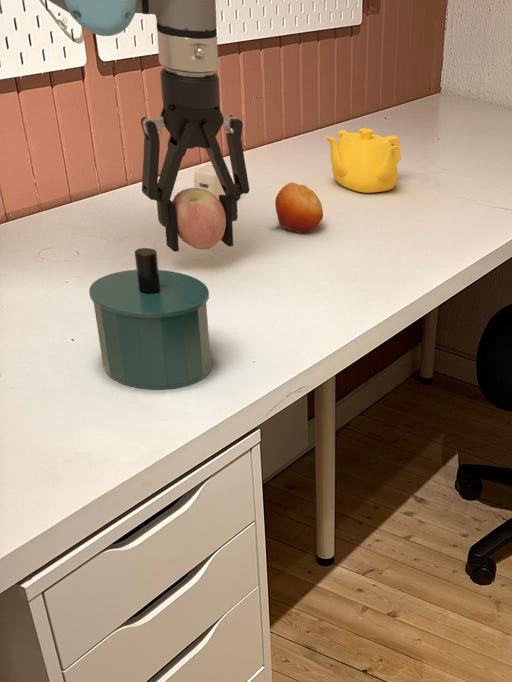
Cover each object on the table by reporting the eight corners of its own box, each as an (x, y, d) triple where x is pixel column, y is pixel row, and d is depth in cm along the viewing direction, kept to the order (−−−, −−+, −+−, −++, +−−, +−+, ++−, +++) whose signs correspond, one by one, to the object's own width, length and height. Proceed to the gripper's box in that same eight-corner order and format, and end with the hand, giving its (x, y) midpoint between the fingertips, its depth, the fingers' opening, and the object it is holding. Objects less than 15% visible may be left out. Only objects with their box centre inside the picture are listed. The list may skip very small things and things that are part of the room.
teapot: (323, 191, 179) (323, 133, 172) (335, 171, 189) (336, 116, 182) (395, 201, 179) (398, 143, 172) (404, 181, 189) (407, 126, 183)
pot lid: (74, 285, 114) (66, 237, 110) (183, 272, 120) (178, 226, 117) (114, 329, 106) (107, 279, 102) (228, 313, 112) (225, 265, 109)
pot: (89, 353, 119) (78, 281, 113) (187, 338, 125) (180, 269, 119) (126, 397, 112) (115, 322, 106) (227, 378, 118) (223, 307, 112)
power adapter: (218, 190, 172) (216, 155, 168) (244, 194, 172) (242, 159, 168) (192, 207, 164) (189, 170, 160) (218, 212, 163) (216, 175, 160)
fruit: (274, 207, 164) (297, 168, 159) (312, 238, 166) (335, 201, 161) (257, 220, 158) (280, 181, 153) (296, 253, 160) (320, 215, 155)
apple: (161, 243, 141) (156, 186, 136) (204, 234, 146) (201, 179, 140) (195, 260, 137) (192, 202, 132) (238, 251, 142) (236, 194, 137)
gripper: (122, 76, 119) (141, 261, 134) (273, 77, 130) (275, 248, 144) (101, 62, 123) (122, 242, 138) (249, 64, 134) (253, 231, 149)
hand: (200, 245), depth 141 cm, fingers closed on apple, 8 cm apart
